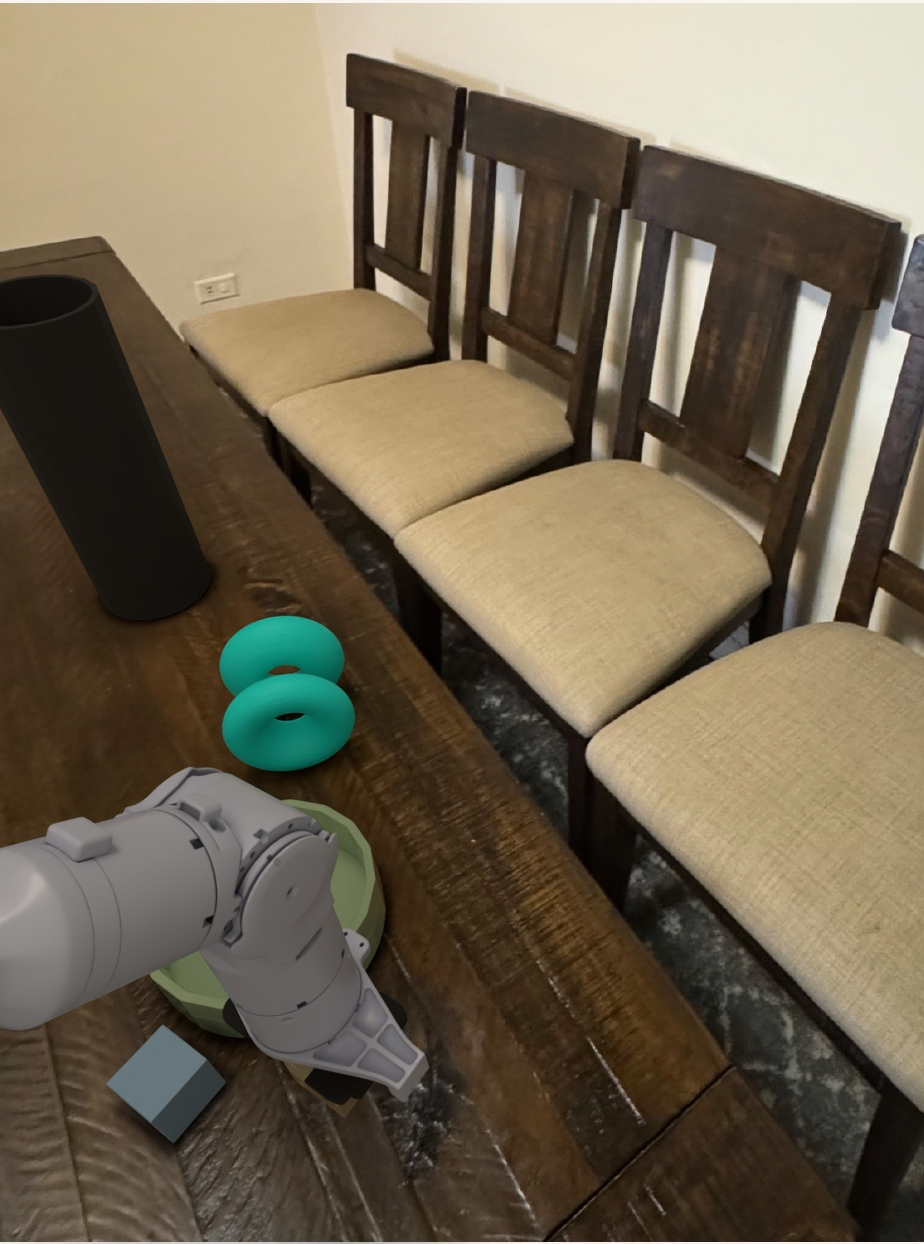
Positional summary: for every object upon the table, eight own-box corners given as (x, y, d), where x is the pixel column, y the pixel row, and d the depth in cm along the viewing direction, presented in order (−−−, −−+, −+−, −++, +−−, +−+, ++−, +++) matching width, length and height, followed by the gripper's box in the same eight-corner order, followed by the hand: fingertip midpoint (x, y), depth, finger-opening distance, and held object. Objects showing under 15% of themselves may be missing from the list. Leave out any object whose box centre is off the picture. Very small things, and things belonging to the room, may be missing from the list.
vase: (101, 631, 83) (-61, 336, 62) (105, 567, 89) (-40, 282, 69) (214, 607, 86) (96, 318, 65) (210, 547, 92) (101, 268, 72)
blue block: (173, 1143, 52) (150, 1122, 49) (130, 1106, 53) (105, 1083, 50) (226, 1082, 54) (207, 1059, 51) (183, 1048, 56) (162, 1023, 53)
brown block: (344, 1118, 50) (331, 1095, 47) (295, 1080, 52) (279, 1055, 49) (390, 1056, 53) (380, 1031, 50) (342, 1022, 54) (329, 995, 51)
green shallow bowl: (274, 1085, 54) (253, 1056, 51) (115, 962, 60) (86, 928, 56) (429, 896, 64) (420, 861, 60) (280, 805, 69) (264, 768, 66)
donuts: (351, 677, 79) (329, 598, 73) (366, 759, 73) (344, 680, 66) (237, 703, 77) (203, 623, 70) (242, 791, 70) (205, 712, 63)
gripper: (454, 964, 42) (477, 1065, 51) (244, 830, 47) (300, 944, 56) (352, 1099, 37) (398, 1183, 47) (132, 934, 42) (213, 1040, 52)
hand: (339, 1060), depth 51 cm, fingers closed on brown block, 4 cm apart
